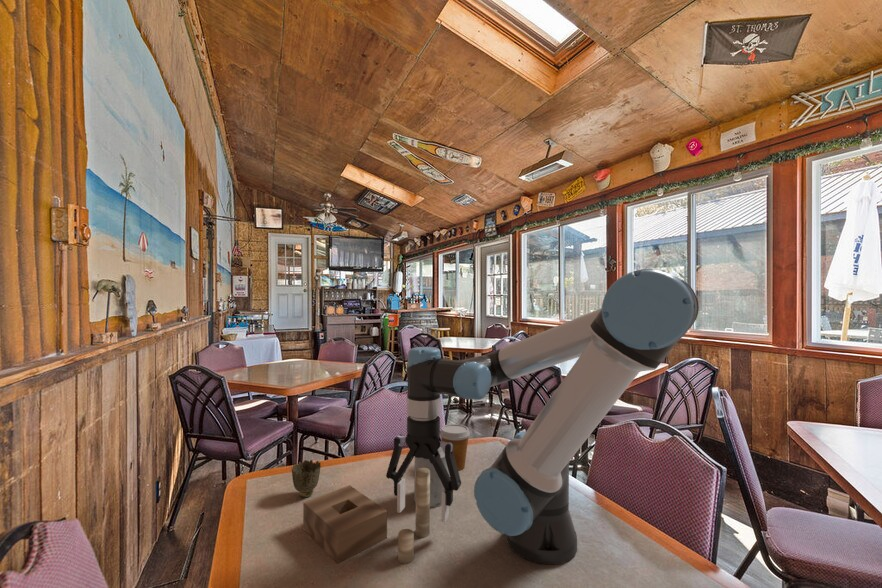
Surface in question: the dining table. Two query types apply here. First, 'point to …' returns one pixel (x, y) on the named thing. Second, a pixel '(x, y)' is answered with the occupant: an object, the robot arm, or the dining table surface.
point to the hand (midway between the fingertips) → (422, 514)
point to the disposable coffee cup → (457, 441)
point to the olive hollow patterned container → (306, 477)
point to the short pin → (405, 546)
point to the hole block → (344, 522)
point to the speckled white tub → (432, 479)
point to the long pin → (422, 502)
